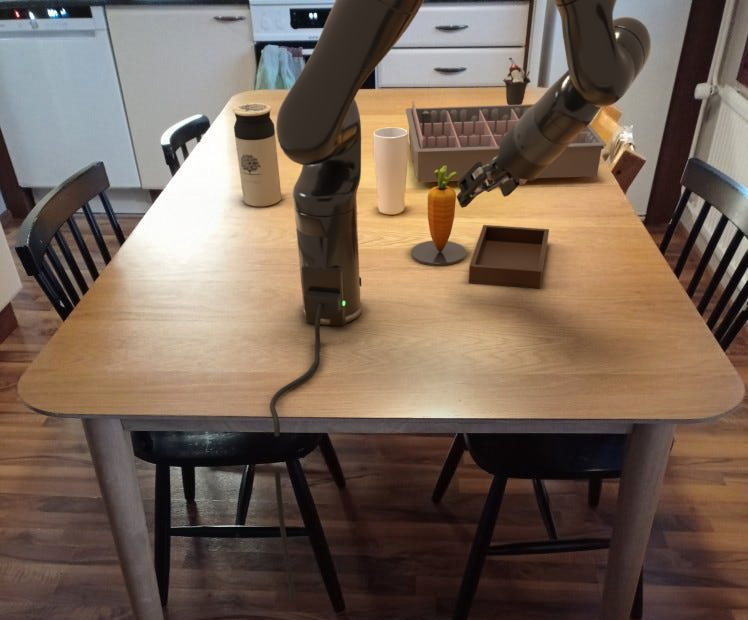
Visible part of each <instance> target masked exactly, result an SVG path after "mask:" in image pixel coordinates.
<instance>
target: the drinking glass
mask: <svg viewBox="0 0 748 620" xmlns="http://www.w3.org/2000/svg"><path fill="white" fill-rule="evenodd" d="M372 151H373V153H372V154H373V155H372V156H373V163H374V174H375V183H376V193H377V207H378V208H377V209H378V211H379V212H380V213H381V214H384V215H388V216H389V215H390V216H393V215H398V214H401V213H403V212H404V210H405V204H406V202H405V198H406V186H407V175H408V174H407V173H408V163H409V162H408V161H409V130H407V129H405V128H402V127H396V126H388V127H381V128H378V129H375V130H374V131H373V137H372Z"/></svg>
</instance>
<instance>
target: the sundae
mask: <svg viewBox="0 0 748 620" xmlns="http://www.w3.org/2000/svg"><path fill="white" fill-rule="evenodd" d="M508 60H509V61H511V66H510V67H509V68H508V73H506V76H505V77H504V79H503V80H502V81H503V82H504V85H505V97H506V98H505V99H506V105H523V103H524V99H525V94H526V89H527V85H528V84H529V83H531V79H530V78H529V77H528V76H529V75H530V73H531V71H530V70H528V72H527V73H526V74H525V70H524V69H523V68H521V67H520V66H519V65H517V64H516V62H515V61H514V60H513V58H512V57H509V58H508ZM513 65H514V66H513Z"/></svg>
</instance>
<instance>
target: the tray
mask: <svg viewBox="0 0 748 620" xmlns="http://www.w3.org/2000/svg"><path fill="white" fill-rule="evenodd" d="M549 234H550V229H549V228H537V227H524V226H523V227H521V226H519V227H518V226H506V225H493V224H483V225H482V227H481V230H480V232H479V236H478V239H477V243H476V246H475V249H474V251H473V254H472V257H471V260H470V263H469V267H468V269H469V270H468V283H471V284H481V285H492V286H493V285H494V286H495V285H496V286H507V287H519V288H528V289H529V288H531V289H540V288H541V283H542V277H543V272H544V266H545V260H546V255H547V249H548V243H549Z"/></svg>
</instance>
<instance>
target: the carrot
mask: <svg viewBox="0 0 748 620" xmlns="http://www.w3.org/2000/svg"><path fill="white" fill-rule="evenodd" d="M446 170H447V166H443V167H442V169H440V171H438V170H436V171H435V172H434V173H435V176H436V179H437V181H438V182H437V186H434V187H432V188H431V189H430V190H429V192H428V193H427V222H428V228H429V234H430V238H431V241H433V243H434V245H435V247H436V249H437V250H438V251H439V252H441V251H442V250H443V249H444V247H445V245H446V243H447V241H449V240H450V239H449V238H450V236H451V233H452V229H453V225H454V221H455V215H456V214H455V213H456V202H457V193H456V190H455V189H454V188H452V187H450V186H448V184H449V183H450V182H451V181H450V179H451V178H452V177H453V176H455V175H457V173H456V172H453V173H451V174H450V175H449V176H448V178H447V177H446Z"/></svg>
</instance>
